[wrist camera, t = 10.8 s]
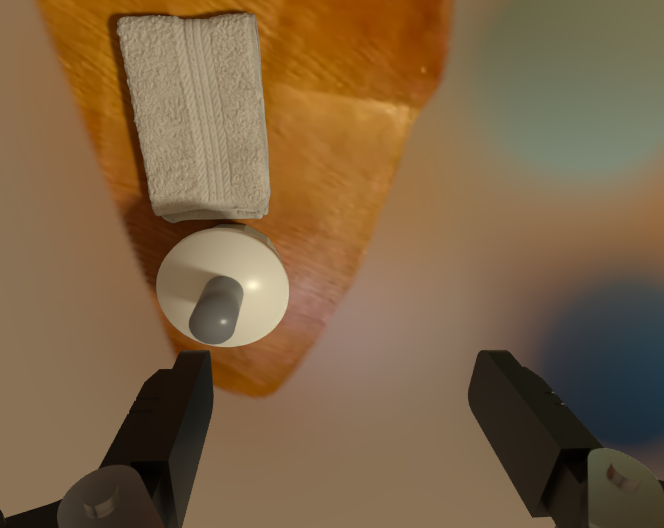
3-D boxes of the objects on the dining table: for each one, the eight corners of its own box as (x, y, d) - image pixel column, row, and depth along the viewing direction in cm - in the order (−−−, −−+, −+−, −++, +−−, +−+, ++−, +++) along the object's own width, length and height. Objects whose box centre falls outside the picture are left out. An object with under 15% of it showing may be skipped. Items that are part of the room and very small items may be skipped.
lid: (153, 224, 33) (121, 253, 27) (290, 230, 34) (289, 258, 28) (167, 339, 38) (142, 385, 32) (287, 340, 39) (286, 384, 33)
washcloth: (162, 219, 39) (152, 228, 37) (118, 17, 32) (101, 9, 29) (276, 213, 40) (274, 221, 37) (258, 15, 33) (254, 7, 30)
